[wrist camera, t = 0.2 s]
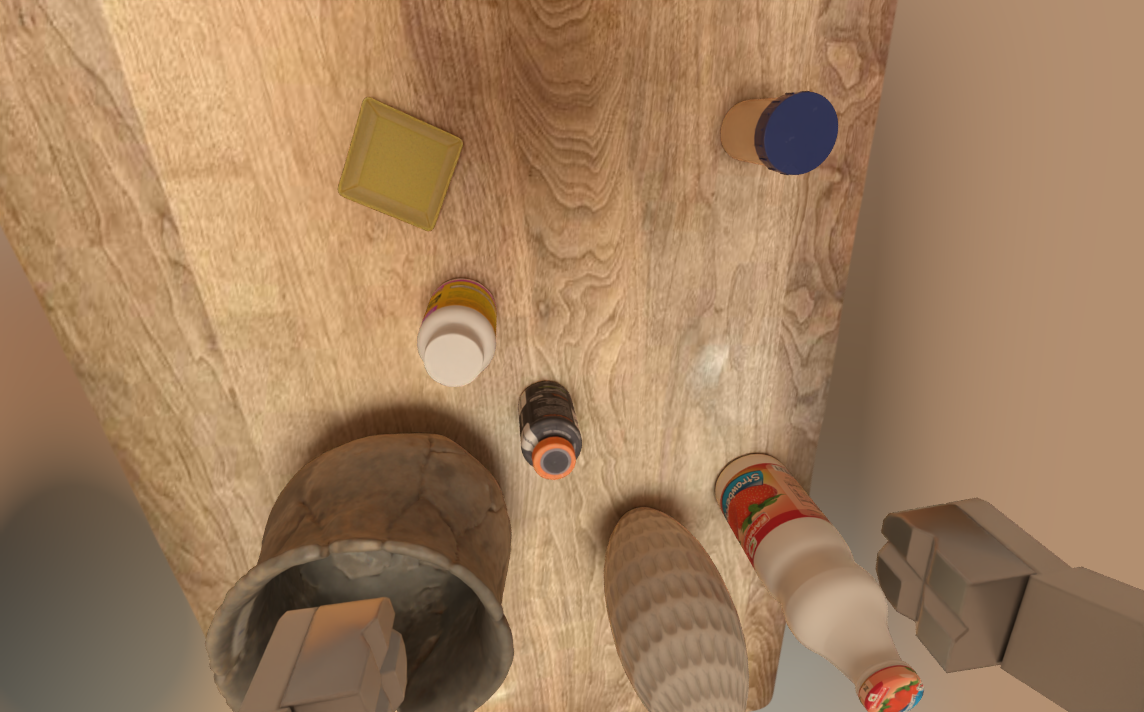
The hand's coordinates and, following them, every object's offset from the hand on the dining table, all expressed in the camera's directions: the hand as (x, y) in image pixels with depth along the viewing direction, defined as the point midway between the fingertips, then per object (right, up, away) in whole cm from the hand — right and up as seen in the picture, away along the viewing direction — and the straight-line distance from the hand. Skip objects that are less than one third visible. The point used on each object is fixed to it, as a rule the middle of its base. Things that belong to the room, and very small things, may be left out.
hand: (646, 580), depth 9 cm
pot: (-20, -12, +55) cm, 60 cm away
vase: (+7, -18, +61) cm, 64 cm away
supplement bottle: (-12, +8, +47) cm, 49 cm away
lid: (+17, +21, +34) cm, 44 cm away
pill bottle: (-4, -2, +52) cm, 53 cm away
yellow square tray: (-16, +21, +41) cm, 49 cm away
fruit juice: (+21, -12, +60) cm, 65 cm away
